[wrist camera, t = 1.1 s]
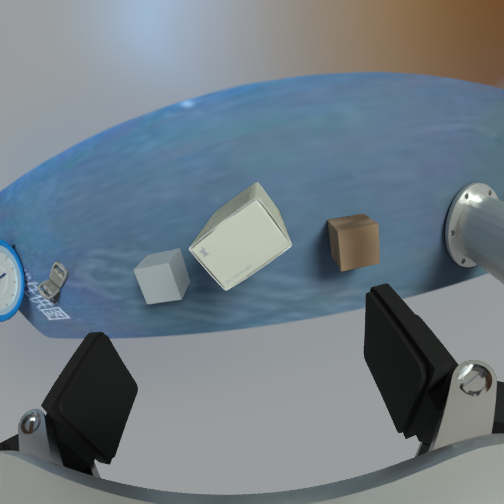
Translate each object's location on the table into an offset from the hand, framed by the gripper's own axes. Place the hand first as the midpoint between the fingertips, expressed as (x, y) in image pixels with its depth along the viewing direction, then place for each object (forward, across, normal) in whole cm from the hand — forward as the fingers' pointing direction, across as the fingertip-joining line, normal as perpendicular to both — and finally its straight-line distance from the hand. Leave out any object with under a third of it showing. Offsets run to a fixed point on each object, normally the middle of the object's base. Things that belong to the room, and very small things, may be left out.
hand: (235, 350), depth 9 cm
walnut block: (+22, -11, +5) cm, 26 cm away
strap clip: (+24, +32, +5) cm, 40 cm away
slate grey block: (+23, +11, +5) cm, 26 cm away
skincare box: (+23, 0, 0) cm, 23 cm away
